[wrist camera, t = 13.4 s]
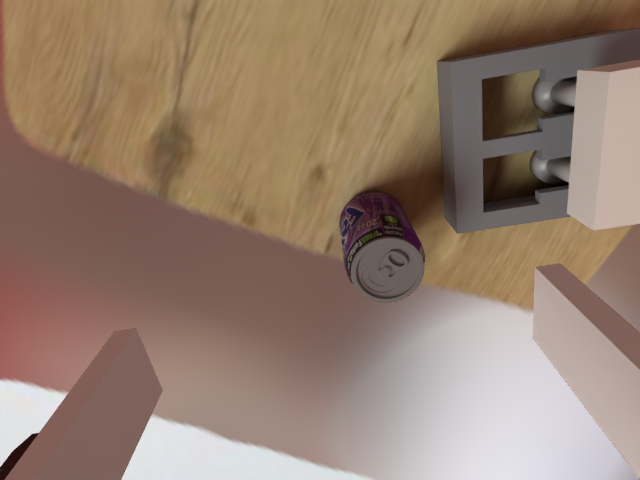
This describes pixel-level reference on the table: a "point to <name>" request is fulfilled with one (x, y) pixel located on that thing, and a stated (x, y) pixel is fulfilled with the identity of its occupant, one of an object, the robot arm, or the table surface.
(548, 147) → the keyhole board
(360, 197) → the beverage can
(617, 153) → the bar
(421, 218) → the table surface
